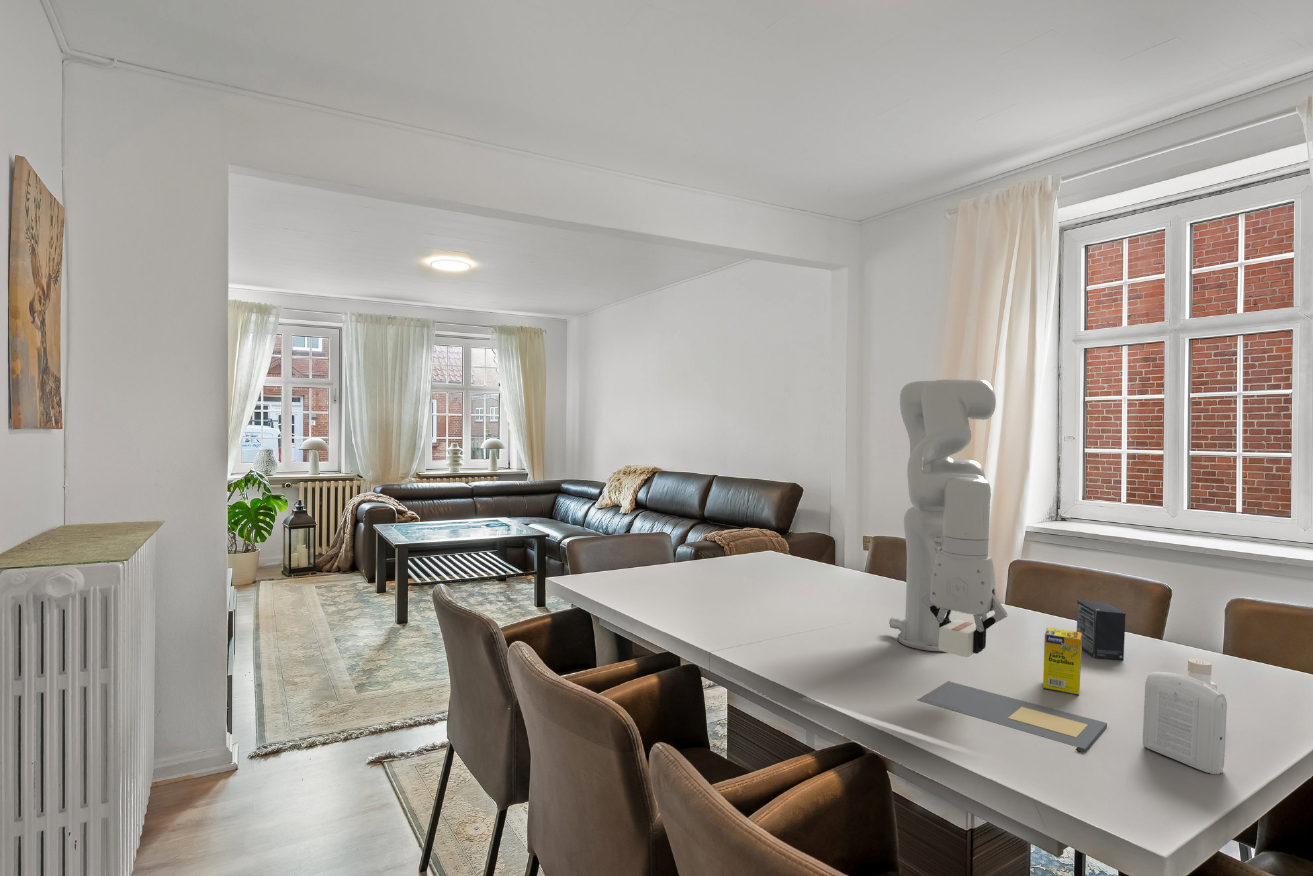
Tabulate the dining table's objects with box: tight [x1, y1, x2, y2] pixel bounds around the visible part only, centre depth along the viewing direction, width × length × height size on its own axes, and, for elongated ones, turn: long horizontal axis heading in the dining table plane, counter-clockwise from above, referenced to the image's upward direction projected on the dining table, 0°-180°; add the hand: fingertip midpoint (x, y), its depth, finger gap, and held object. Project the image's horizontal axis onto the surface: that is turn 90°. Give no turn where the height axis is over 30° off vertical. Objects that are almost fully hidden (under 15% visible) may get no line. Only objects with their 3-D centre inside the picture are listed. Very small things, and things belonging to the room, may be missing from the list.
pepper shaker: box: [1187, 658, 1218, 690], centre depth 121 cm, size 4×4×10 cm
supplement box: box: [1042, 627, 1083, 697], centre depth 132 cm, size 6×6×11 cm
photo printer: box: [1142, 671, 1228, 775], centre depth 104 cm, size 10×4×12 cm, turn 24°
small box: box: [1076, 599, 1127, 661], centre depth 157 cm, size 11×6×10 cm, turn 168°
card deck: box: [938, 619, 976, 658], centre depth 126 cm, size 5×8×4 cm, turn 136°
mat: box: [916, 680, 1108, 754], centre depth 120 cm, size 26×14×1 cm, turn 46°
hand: (961, 646), depth 126 cm, fingers closed on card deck, 4 cm apart
